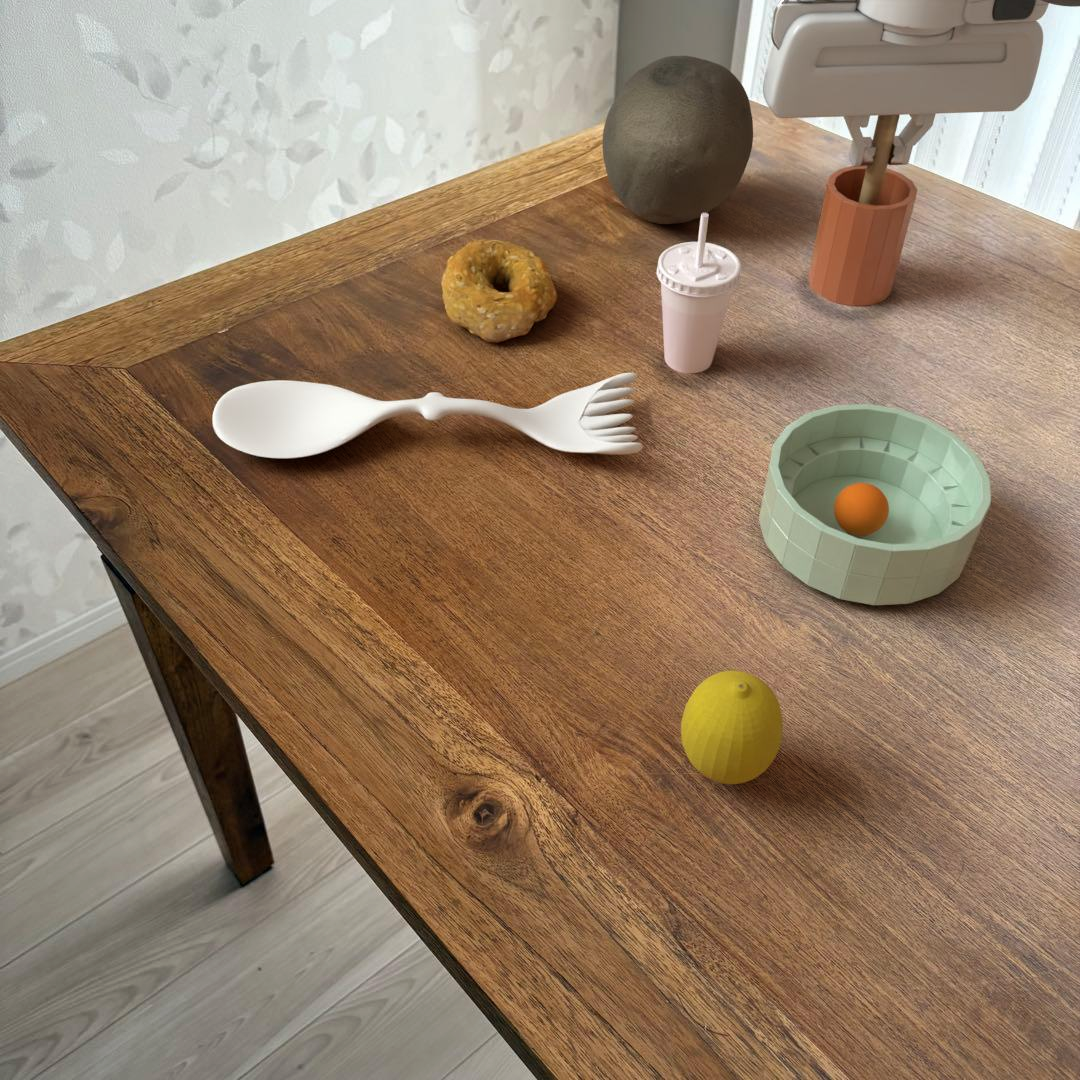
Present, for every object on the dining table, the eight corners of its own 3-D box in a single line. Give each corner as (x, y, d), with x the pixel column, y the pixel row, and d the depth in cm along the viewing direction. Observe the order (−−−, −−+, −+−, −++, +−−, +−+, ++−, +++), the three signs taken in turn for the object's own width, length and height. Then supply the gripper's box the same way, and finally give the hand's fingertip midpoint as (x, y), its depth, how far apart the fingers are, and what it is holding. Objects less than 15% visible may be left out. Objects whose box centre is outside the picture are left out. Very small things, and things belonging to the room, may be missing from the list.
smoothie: (641, 383, 89) (655, 227, 79) (655, 338, 94) (669, 184, 84) (721, 395, 88) (744, 239, 78) (731, 348, 93) (754, 194, 83)
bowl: (928, 462, 83) (950, 399, 78) (995, 607, 73) (1024, 544, 69) (740, 471, 82) (751, 408, 78) (782, 618, 72) (797, 555, 68)
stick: (856, 277, 99) (910, 49, 84) (861, 287, 98) (916, 58, 83) (838, 277, 99) (889, 50, 84) (843, 287, 98) (896, 58, 83)
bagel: (440, 348, 93) (436, 300, 89) (445, 275, 100) (442, 228, 97) (559, 347, 93) (559, 298, 89) (555, 274, 100) (555, 227, 97)
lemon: (655, 767, 65) (667, 685, 59) (716, 712, 67) (732, 628, 61) (730, 828, 62) (750, 748, 56) (790, 768, 64) (815, 685, 59)
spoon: (640, 478, 82) (643, 443, 79) (206, 473, 82) (196, 437, 79) (635, 401, 88) (638, 366, 85) (232, 396, 88) (223, 361, 86)
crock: (876, 266, 101) (902, 163, 94) (899, 312, 96) (928, 207, 89) (798, 269, 101) (818, 166, 94) (817, 315, 96) (840, 210, 89)
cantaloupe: (566, 215, 108) (569, 59, 97) (670, 169, 114) (684, 18, 103) (669, 277, 100) (685, 116, 89) (774, 224, 106) (801, 68, 96)
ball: (874, 508, 78) (885, 470, 76) (888, 545, 76) (900, 507, 73) (823, 510, 78) (833, 473, 76) (836, 547, 76) (847, 510, 73)
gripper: (787, 2, 77) (759, 186, 87) (1073, -5, 78) (1013, 177, 88) (768, -30, 82) (743, 148, 92) (1039, -37, 83) (986, 140, 93)
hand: (878, 162), depth 90 cm, fingers closed on stick, 1 cm apart
